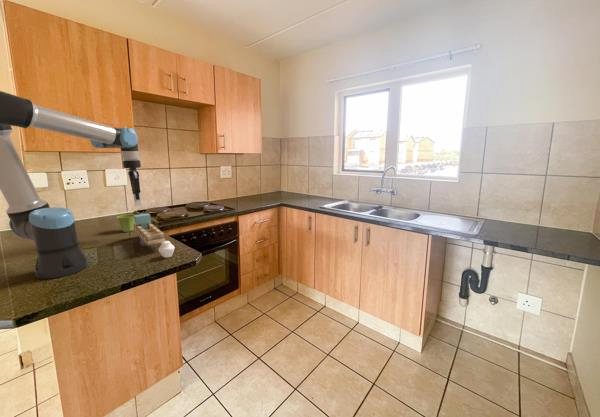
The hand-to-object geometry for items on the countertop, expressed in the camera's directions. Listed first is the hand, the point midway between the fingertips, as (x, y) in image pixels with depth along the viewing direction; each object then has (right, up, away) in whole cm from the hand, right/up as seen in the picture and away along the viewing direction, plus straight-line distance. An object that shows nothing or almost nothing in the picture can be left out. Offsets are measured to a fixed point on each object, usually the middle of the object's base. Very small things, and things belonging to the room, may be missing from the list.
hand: (138, 205), depth 138 cm
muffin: (+28, -22, -26) cm, 45 cm away
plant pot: (-14, -15, +13) cm, 24 cm away
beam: (+11, -19, -9) cm, 24 cm away
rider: (+5, -11, -4) cm, 13 cm away
